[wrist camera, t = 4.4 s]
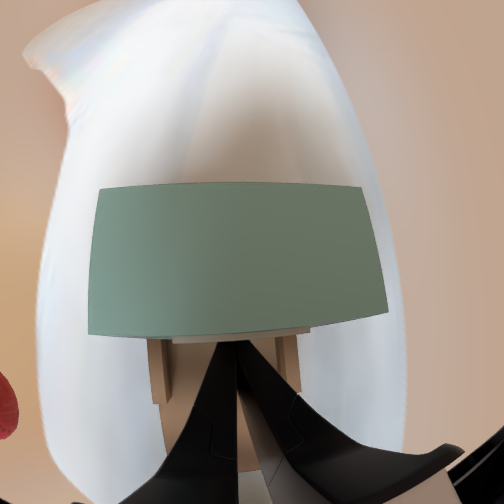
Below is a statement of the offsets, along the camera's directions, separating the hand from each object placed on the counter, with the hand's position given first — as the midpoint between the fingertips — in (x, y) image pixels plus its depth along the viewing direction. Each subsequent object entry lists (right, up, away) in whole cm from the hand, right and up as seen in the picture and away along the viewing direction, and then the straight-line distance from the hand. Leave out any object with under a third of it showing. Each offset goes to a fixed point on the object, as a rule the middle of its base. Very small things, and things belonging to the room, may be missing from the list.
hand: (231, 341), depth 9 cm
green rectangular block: (-1, 0, +7) cm, 7 cm away
